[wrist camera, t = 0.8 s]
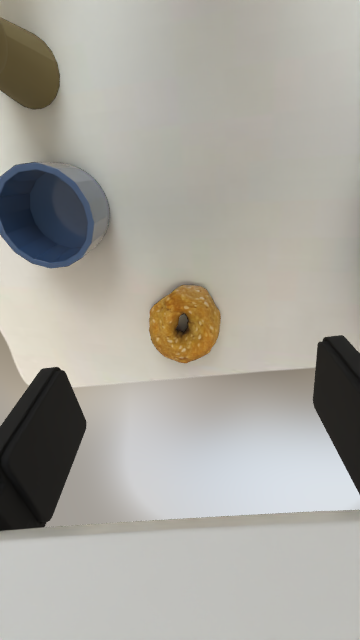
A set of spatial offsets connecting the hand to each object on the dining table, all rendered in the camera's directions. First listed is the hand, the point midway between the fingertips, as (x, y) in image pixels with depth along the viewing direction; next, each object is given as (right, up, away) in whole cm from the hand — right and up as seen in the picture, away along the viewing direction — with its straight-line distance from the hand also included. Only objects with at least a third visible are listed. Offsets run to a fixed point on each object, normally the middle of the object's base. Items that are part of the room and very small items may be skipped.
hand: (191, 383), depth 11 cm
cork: (-15, +27, +18) cm, 36 cm away
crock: (-14, +16, +24) cm, 32 cm away
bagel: (0, +3, +31) cm, 31 cm away
